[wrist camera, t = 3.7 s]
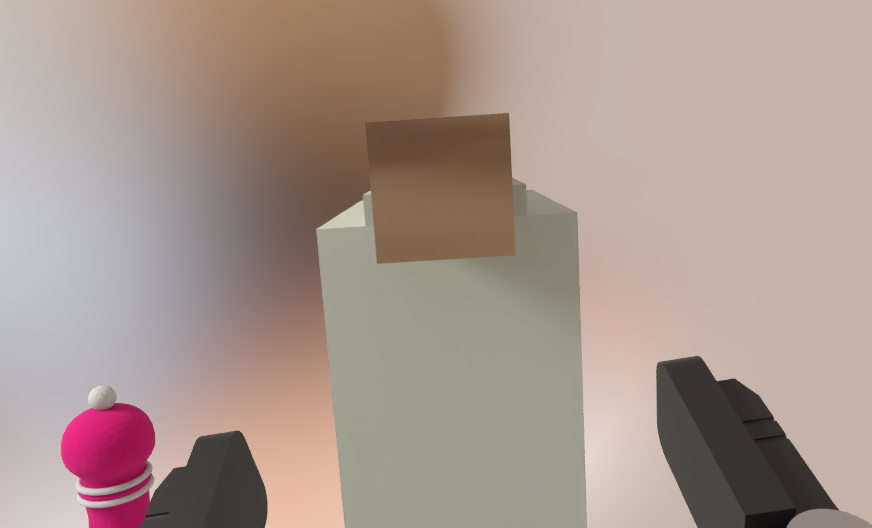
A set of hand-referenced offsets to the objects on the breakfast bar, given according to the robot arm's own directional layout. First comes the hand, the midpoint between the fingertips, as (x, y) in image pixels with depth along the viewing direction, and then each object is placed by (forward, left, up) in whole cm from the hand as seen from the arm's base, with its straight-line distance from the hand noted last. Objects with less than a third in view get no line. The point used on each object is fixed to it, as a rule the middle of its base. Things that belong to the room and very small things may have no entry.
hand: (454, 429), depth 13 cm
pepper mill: (+16, +38, -30) cm, 51 cm away
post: (+18, +10, -29) cm, 36 cm away
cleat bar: (+14, +8, +3) cm, 16 cm away
